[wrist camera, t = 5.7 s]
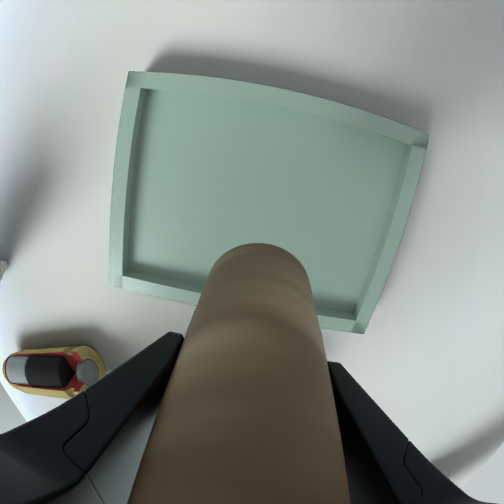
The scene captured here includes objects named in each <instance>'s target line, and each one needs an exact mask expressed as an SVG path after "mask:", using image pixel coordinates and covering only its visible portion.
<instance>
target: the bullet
mask: <svg viewBox="0 0 504 504" xmlns="http://www.w3.org/2000/svg"><path fill="white" fill-rule="evenodd" d="M3 374H4V377H5V379H6V380H7V381H8V382H9V383H10V384H11V385H12V386H13V387H14V388H16V389H18V390H21V391H23V392H24V393H28V394H34V395H41V396H48V397H56V398H65V399H71V398H73V397H74V396H76V395H77V394H79V393H80V392H82V391H85V389H86V388H88V387H89V386H91V385H92V384H94V383H95V382H97V381H98V380H100V379H101V378H103V377H104V376H106V373H105V367H104V364H103V361H102V359H101V357H100V356H99V354H98V353H97V352H96V351H95V350H94V349H92V348H91V347H88V346H78V347H59V348H45V349H28V350H21V351H19V352H16V353H13V354H11V355H10V356H8V358H7V359H6V360H5V361H4V363H3Z"/></svg>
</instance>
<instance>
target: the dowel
mask: <svg viewBox="0 0 504 504" xmlns="http://www.w3.org/2000/svg"><path fill="white" fill-rule="evenodd" d="M127 504H351V502H350V494H349V487H348V480H347V473H346V466H345V460H344V453H343V447H342V441H341V435H340V429H339V423H338V417H337V412H336V406H335V401H334V395H333V390H332V385H331V380H330V374H329V369H328V364H327V359H326V354H325V350H324V345H323V340H322V335H321V331H320V326H319V321H318V317H317V312H316V308H315V303H314V299H313V295H312V290H311V286H310V282H309V278H308V275H307V272H306V270H305V268H304V266H303V265H302V264H301V262H300V261H299V260H298V259H297V258H296V257H295V256H294V255H292V254H291V253H290V252H288V251H286V250H285V249H283V248H280V247H278V246H275V245H271V244H266V243H249V244H244V245H240V246H237V247H235V248H233V249H231V250H229V251H227V252H226V253H224V254H223V255H222V256H221V257H220V258H219V259H218V260H217V261H216V262H215V264H214V265H213V267H212V268H211V270H210V273H209V275H208V278H207V281H206V283H205V286H204V288H203V291H202V293H201V296H200V298H199V301H198V304H197V306H196V309H195V311H194V314H193V317H192V319H191V322H190V325H189V327H188V330H187V332H186V335H185V338H184V340H183V343H182V346H181V348H180V351H179V354H178V357H177V359H176V362H175V365H174V367H173V370H172V373H171V376H170V378H169V381H168V384H167V387H166V390H165V392H164V395H163V398H162V401H161V404H160V406H159V409H158V412H157V415H156V418H155V421H154V424H153V426H152V429H151V432H150V435H149V438H148V441H147V444H146V447H145V450H144V453H143V456H142V459H141V462H140V465H139V468H138V471H137V474H136V477H135V480H134V483H133V486H132V489H131V493H130V496H129V499H128V502H127Z"/></svg>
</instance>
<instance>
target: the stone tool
mask: <svg viewBox="0 0 504 504" xmlns="http://www.w3.org/2000/svg"><path fill="white" fill-rule="evenodd" d="M7 267H8V264H7V263H6V261H3V260H0V281H1V279H2V276H3V272H4V270H5V269H6V268H7Z"/></svg>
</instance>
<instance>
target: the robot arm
mask: <svg viewBox="0 0 504 504" xmlns="http://www.w3.org/2000/svg"><path fill="white" fill-rule="evenodd" d="M183 340H184V337H183V335H182V334H178V333H174V332H168V333H166V334H165V335H164V336H162V337H161V338H159V339H158V340H156V341H155V342H154V343H152V344H151V345H149V346H148V347H146V348H145V349H143V350H142V351H141V352H139V353H138V354H136V355H135V356H133V357H132V358H130V359H129V360H127V361H126V362H125V363H123V364H122V365H120V366H119V367H117V368H116V369H114V370H113V371H111V372H110V373H108V374H107V375H106V376H104V377H103V378H101V379H100V380H98V381H97V382H95V383H94V384H92V385H91V386H89V387H88V388H86V389H85V391H82V392H80V393H79V394H77V395H76V396H74V397H73V398H71V399H69V400H68V401H66V402H65V403H63V404H61V405H60V406H58V407H56V408H54V409H53V410H51V411H49V412H47V413H45V414H43V415H41V416H39V417H37V418H35V419H33V420H31V421H29V422H27V423H25V424H23V425H20V426H18V427H16V428H14V429H12V430H10V431H8V432H5V433H3V434H0V504H127V502H128V499H129V496H130V493H131V489H132V486H133V483H134V480H135V477H136V474H137V471H138V468H139V465H140V462H141V459H142V456H143V453H144V450H145V447H146V444H147V441H148V438H149V435H150V432H151V429H152V426H153V424H154V421H155V418H156V415H157V412H158V409H159V406H160V404H161V401H162V398H163V395H164V392H165V390H166V387H167V384H168V381H169V378H170V376H171V373H172V370H173V367H174V365H175V362H176V359H177V357H178V354H179V351H180V348H181V346H182V343H183ZM327 364H328V369H329V374H330V380H331V385H332V390H333V395H334V401H335V406H336V412H337V417H338V423H339V429H340V435H341V441H342V447H343V453H344V460H345V466H346V473H347V480H348V487H349V494H350V502H351V504H496V503H486V502H481V501H478V500H475V499H473V498H471V497H470V496H468V495H467V494H466V493H464V492H463V491H462V490H461V489H460V488H458V487H457V486H456V485H455V484H454V483H453V482H452V481H450V480H449V479H448V478H447V477H446V476H445V475H444V474H443V473H441V472H440V471H439V470H438V469H437V468H436V467H435V466H434V465H433V464H432V463H431V462H430V461H428V460H427V458H426V457H425V456H424V455H423V454H422V453H421V452H420V451H419V450H418V449H417V448H416V447H415V446H414V445H413V444H412V442H411V441H408V438H407V437H406V436H405V435H404V434H403V433H402V432H401V430H400V429H399V428H398V427H397V426H396V425H395V424H394V423H393V422H392V420H391V419H390V418H389V417H388V416H387V415H386V414H385V413H384V412H383V410H382V409H381V408H380V407H379V406H378V405H377V404H376V403H375V402H374V400H373V399H372V398H371V397H370V396H369V395H368V394H367V393H366V392H365V390H364V389H363V388H362V387H361V386H360V385H359V384H358V383H357V382H356V380H355V379H354V378H353V377H352V376H351V375H350V374H349V373H348V371H347V370H346V369H345V368H344V367H343V366H342V365H341V364H340V363H338V362H330V361H328V362H327Z"/></svg>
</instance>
